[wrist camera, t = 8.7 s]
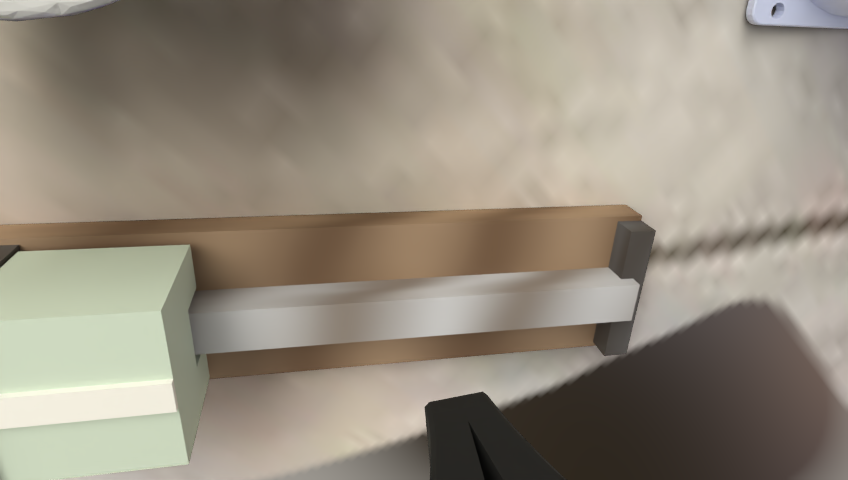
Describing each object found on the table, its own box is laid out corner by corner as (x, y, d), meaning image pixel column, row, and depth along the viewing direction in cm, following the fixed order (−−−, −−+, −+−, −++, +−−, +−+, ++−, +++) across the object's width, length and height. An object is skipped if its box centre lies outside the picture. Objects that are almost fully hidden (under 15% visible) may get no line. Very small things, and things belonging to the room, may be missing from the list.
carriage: (190, 244, 18) (158, 315, 14) (209, 377, 20) (187, 469, 16) (17, 251, 17) (-67, 329, 13) (59, 390, 19) (-3, 491, 15)
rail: (625, 204, 22) (727, 273, 17) (599, 328, 25) (681, 422, 19) (-50, 226, 18) (-204, 331, 12) (2, 376, 20) (-108, 518, 15)
